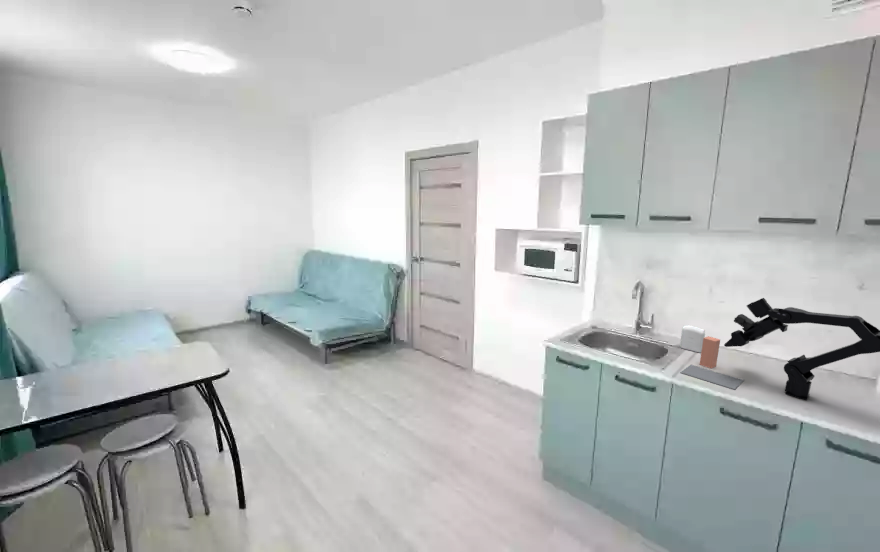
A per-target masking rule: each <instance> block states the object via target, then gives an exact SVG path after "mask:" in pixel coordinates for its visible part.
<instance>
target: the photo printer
mask: <svg viewBox="0 0 880 552" xmlns="http://www.w3.org/2000/svg"><path fill="white" fill-rule="evenodd" d="M705 337H706V330H705V329H703V328H701V327H698V326H695V325H683V327H682V328H681V336H680V343H679V344H680V345H679V348H681V349H684V350H688V351H691V352H696V353H700V354H701V351H702V345H703V338H705Z"/></svg>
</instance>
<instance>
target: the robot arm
mask: <svg viewBox="0 0 880 552" xmlns="http://www.w3.org/2000/svg"><path fill="white" fill-rule="evenodd" d="M746 308H747V309H748V310H749V311H750V312H751V313H752V315H753V316H754V317H755V318H757V319H758V318H760V319H761V320H757V321H753V320H752V319H751V318H749V317H748V316H747V315H745V314H743V313H740V314H738V315H736V316H735V317H734V319H733V322H734V323H735V324H738V325H739V326H740V327H742V328H741V329H742V330H740V329H737V330H735V331H733V332H731V333H730V336H731V338H730V339H728V340H727V342H725V343H724V344H723V346H724V347H725V348H728V347H743V346H746V345H749V343H750V342H754V341H757V340H760V339H762V338H764V337H765V336H766V335H769V334H770V333H772V332H775V331H777V330H780V331H781V332H782V333H786V332H787V331H788V327H789V324H790V325H791V324H792V325H793V324H794V325H796V324H806V323H807V324H814V325H815V324H816V325H825V326H835V327H844V328H849V329H851V331H853V332H854V334H855V335H856V336H857V337H858V338H859V340H858V341H856V342H854V343H851V344H848V345H845V346H841V347H839V348H837V349H833V350H829V351H827V352H824V353H820V354H818V355H815V356H811V357H806V355H805V354H802V355H800V356H799V357H792V358H791V359H788V360H787V363H785V364H784V366H783V371H784V372H785V374H786V375H787V380H786V383H785V386H784V387H785V388H784V391H785V392H784V393H785V395H788V396H790V397H791V396H792V397H795V398H797V399H802V400H804V401H808V399H809V398H810V391H811V387H812V380H813V379H814V378H815V374H813V372H812V370H814V369H816V368H819V367H821V366H825V365H829V364H832V363H836V362H838V361H843V360H845V359H848V358H851V357H855V356H858V355H868V354H874V353H880V329H879V328H878V327H876V326H874V325H873V324H871V323H869V322H867V320H865V319H864V318H863V317H861V316H859V315H846V314H845V315H844V314H834V313H822V312H812V311H808V310H804V309H801V308H797V307H792V306H789V307H786V308H777V307H776V308H773V307H772V306H771V305H770V304H769V302H768V301H767V299H765V298H764V297H762V298H760V299H758V300H755V301H753V302H750V303H748V304H747V305H746Z"/></svg>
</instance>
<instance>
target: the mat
mask: <svg viewBox="0 0 880 552" xmlns="http://www.w3.org/2000/svg"><path fill="white" fill-rule="evenodd" d="M680 374H682V375H685V376H689V377H692V378H695V379H697V380H698V379H699V380H700V381H701V380H702V381H705V382H708V383H710V384H714V385H717V386H720V387H723V388H727V389H730V390H734V391H735V390H736V389H738V387H740V385H741V384H742V383H743V382H745V379H742V378H739V377H735V376H733V375H732V376H731V375H729V374H725V373H722V372H718V371H714V370H711V369H708V368H704V367H700V366H698V365H693V364H690V365H688V366H687V367H686V368H684V369H683V370H681V371H680Z"/></svg>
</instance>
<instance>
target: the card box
mask: <svg viewBox="0 0 880 552" xmlns="http://www.w3.org/2000/svg"><path fill="white" fill-rule="evenodd" d="M720 343H721V339H720V338H717V337H713V336H708V335H707V336H705V338H703V345H702V351H701V353H700V359H699V366H700V365H701V366H703V367H706V368H707V369H708V368H709V369H713V368H715V367H717V362H718V356H719V351H720V350H719V349H720V345H721V344H720Z"/></svg>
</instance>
